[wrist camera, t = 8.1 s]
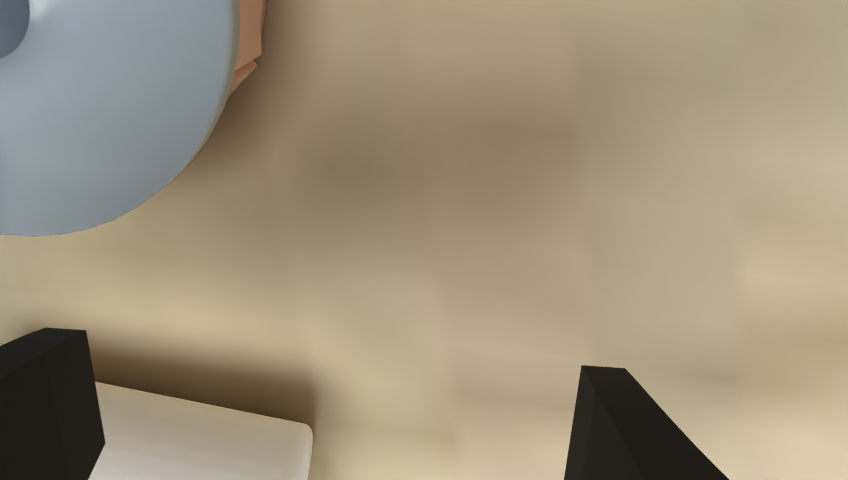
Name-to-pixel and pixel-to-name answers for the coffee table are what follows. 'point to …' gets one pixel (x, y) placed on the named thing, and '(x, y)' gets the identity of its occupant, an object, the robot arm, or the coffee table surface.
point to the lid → (105, 103)
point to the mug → (195, 440)
